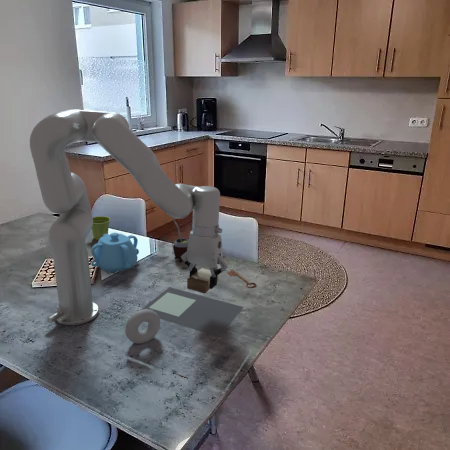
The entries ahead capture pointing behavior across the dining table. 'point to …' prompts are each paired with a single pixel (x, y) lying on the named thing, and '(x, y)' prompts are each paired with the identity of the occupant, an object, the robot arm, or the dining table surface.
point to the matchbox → (179, 375)
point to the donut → (137, 319)
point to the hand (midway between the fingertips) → (203, 283)
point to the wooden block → (200, 281)
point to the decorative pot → (115, 252)
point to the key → (241, 278)
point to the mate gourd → (180, 246)
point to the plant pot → (100, 226)
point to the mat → (194, 311)
